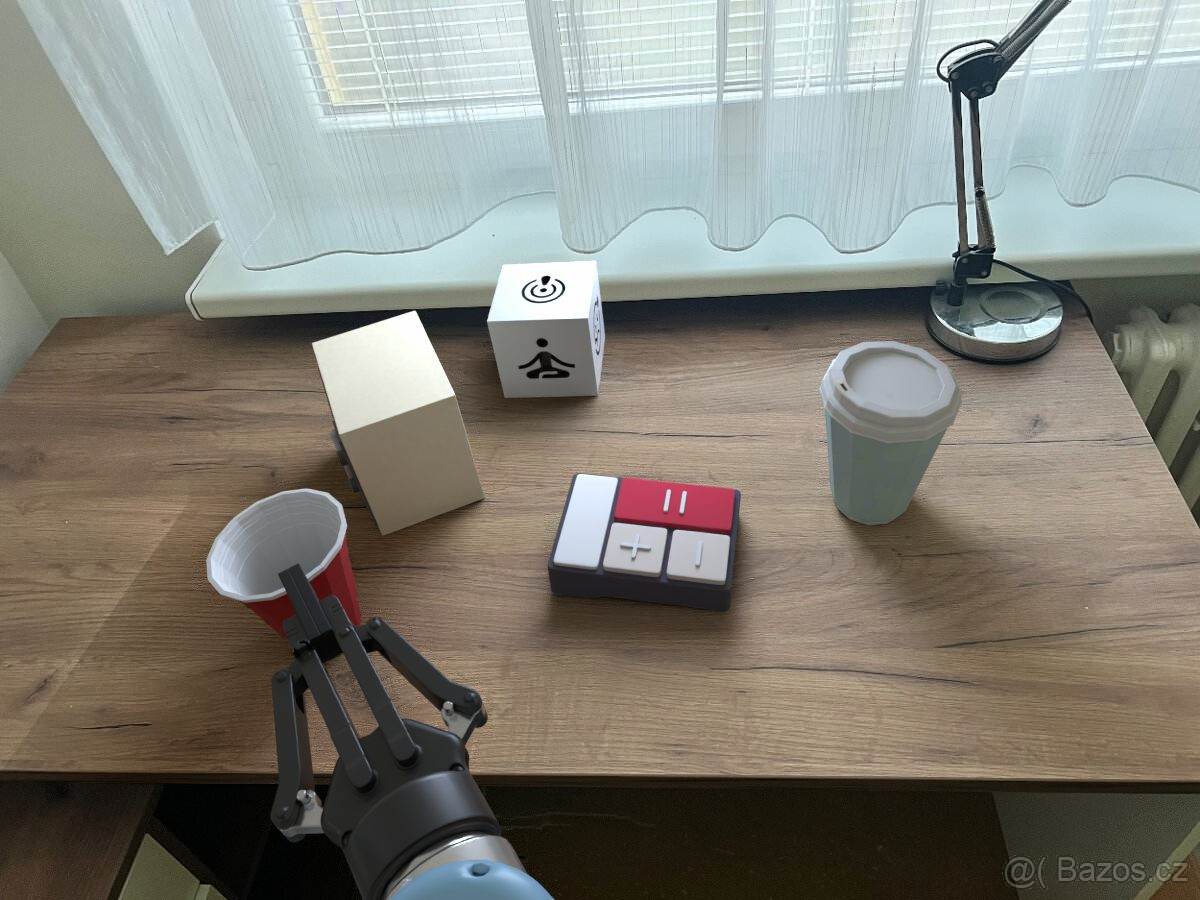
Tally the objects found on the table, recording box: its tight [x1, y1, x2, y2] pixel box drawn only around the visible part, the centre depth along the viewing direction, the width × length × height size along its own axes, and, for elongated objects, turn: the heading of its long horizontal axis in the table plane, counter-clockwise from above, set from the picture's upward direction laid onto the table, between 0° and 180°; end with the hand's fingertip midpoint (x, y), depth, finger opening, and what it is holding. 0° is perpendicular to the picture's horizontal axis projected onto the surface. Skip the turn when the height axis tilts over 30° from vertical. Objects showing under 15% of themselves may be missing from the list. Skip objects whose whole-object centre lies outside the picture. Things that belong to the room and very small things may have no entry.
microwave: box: [311, 310, 485, 537], centre depth 82 cm, size 11×14×13 cm
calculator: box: [547, 472, 742, 612], centre depth 75 cm, size 11×4×15 cm
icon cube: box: [486, 260, 606, 399], centre depth 92 cm, size 10×10×10 cm
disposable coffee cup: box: [818, 340, 963, 526], centre depth 72 cm, size 11×11×15 cm
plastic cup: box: [205, 488, 362, 641], centre depth 70 cm, size 11×11×12 cm
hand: (295, 580), depth 60 cm, fingers closed
